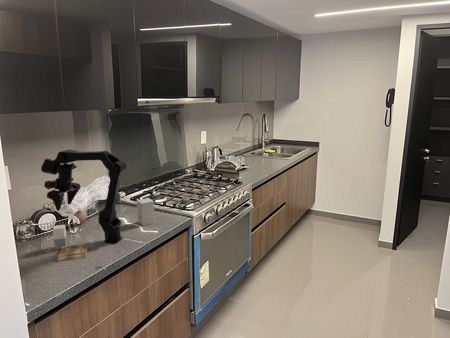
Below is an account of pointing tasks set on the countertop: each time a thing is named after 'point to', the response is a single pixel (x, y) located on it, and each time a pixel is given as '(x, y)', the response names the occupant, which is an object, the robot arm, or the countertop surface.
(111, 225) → the robot arm
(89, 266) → the countertop surface
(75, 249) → the wooden tray
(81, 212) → the decorative fruit
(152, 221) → the supplement box
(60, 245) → the plain gray box
